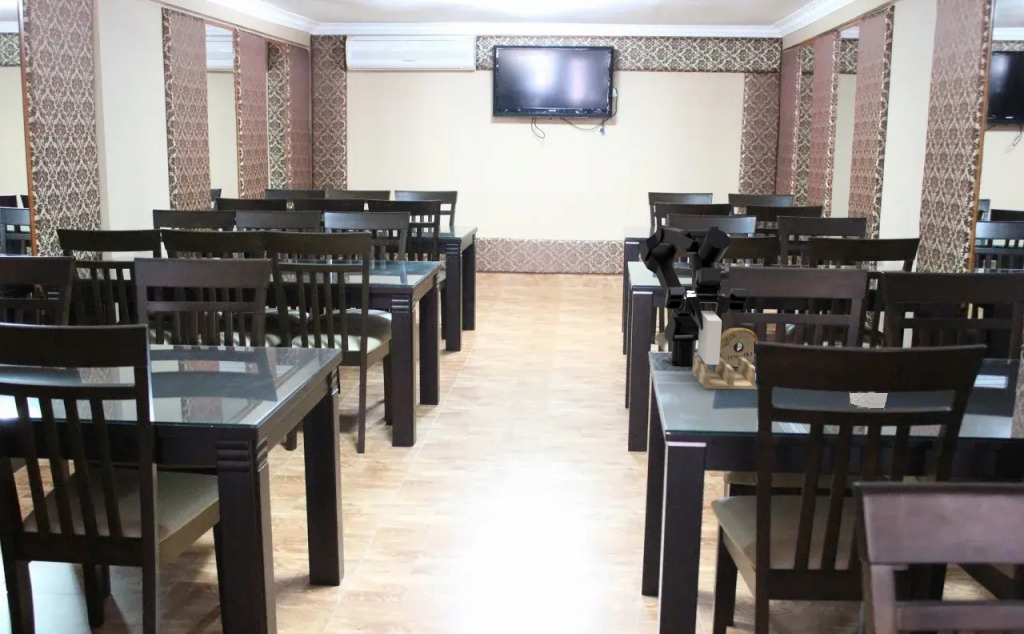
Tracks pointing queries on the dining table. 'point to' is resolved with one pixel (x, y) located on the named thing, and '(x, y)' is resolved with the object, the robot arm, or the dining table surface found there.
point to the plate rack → (725, 375)
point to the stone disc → (731, 339)
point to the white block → (710, 338)
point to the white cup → (869, 399)
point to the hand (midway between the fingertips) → (709, 329)
